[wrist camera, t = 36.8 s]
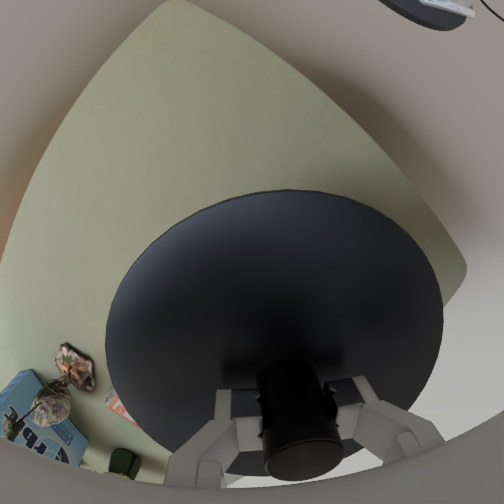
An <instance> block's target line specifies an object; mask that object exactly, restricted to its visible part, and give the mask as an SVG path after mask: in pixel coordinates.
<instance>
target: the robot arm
mask: <svg viewBox="0 0 504 504" xmlns="http://www.w3.org/2000/svg"><path fill="white" fill-rule="evenodd" d="M418 1H419V2H421V3H422V4H424V5H427V6H431V7H435V8H439V9H442V10H446V11H449V12H453V13H456V14H459V15H462V16H465V17H468V18H473V17H474V16H475V9H474V5H473V3H474V2H475V1H476V0H418ZM480 1H481V2H482V3H483V4H484V5H485V6H486V7H487V8H488V9H489V10H490V11H491V12H492V13H493V14H494V15H496V16H497V17H498V18H499V19H501V20H502V21H503V22H504V19H503V18H501V17H500V16H499V15H498V14H496V13H495V12H494V11H493V10H492V9H490V8H489V7H488V6H487V4H486V3H485V2H484V1H483V0H480ZM323 391H324V394H325V398H326V400H327V403H328V406H329V408H330V411H331V413H332V416H333V419H334V421H335V424H336V427H337V429H338V432H339V435H340V437H341V440H344V439H349V438H353V439H354V440H355V441H356V442H358V443H359V444H360V445H362V446H363V447H364V448H366V449H367V450H369V451H370V452H371V453H373V454H374V455H375V456H377V457H378V458H380V459H381V460H382V461H384V462H383V464H382V466H379V467H375V468H372V469H368V470H364V471H361V472H357V473H353V474H349V475H344V476H339V477H334V478H330V479H324V480H318V481H312V482H306V483H298V484H291V485H281V486H271V487H257V488H256V487H255V488H226V484H225V479H224V475H223V474H224V473H225V471H226V470H227V469H228V467H229V466H230V465H231V463H232V462H233V461H234V459H235V458H236V457H237V455H238V454H239V452H243V451H257V450H263V445H262V435H261V432H262V431H263V423H262V409H261V404H260V390H259V388H254V389H232V390H231V389H217V392H216V403H215V415H214V420H209V421H208V422H207V423H206V424H205V425H204V426H203V427H202V428H201V429H200V430H199V431H198V432H197V433H196V434H194V435H193V436H192V437H191V438H190V439H189V440H188V441H187V442H186V443H185V444H183V445H182V446H181V447H180V448H179V449H178V450H177V451H175V452H174V453H173V454H172V455H171V456H170V457H169V460H168V464H167V469H166V474H165V479H164V484H155V483H148V482H142V481H136V480H130V479H125V478H120V477H115V476H111V475H107V474H102V473H98V472H94V471H91V470H87V469H83V468H80V467H77V466H73V465H70V464H67V463H64V462H61V461H58V460H55V459H52V458H50V457H47V456H44V455H42V454H39V453H37V452H34V451H32V450H29V449H27V448H25V447H22V446H20V445H18V444H16V443H14V442H12V441H10V440H8V439H6V438H4V437H2V436H0V504H504V411H502V412H501V413H499V414H497V415H496V416H494V417H492V418H491V419H489V420H487V421H485V422H484V423H482V424H480V425H478V426H476V427H474V428H472V429H471V430H469V431H467V432H465V433H463V434H461V435H459V436H457V437H455V438H452V439H451V440H448V441H446V442H445V440H444V439H443V437H442V436H441V434H440V433H439V432H438V430H437V429H436V427H435V426H434V425H433V423H432V422H431V421H428V420H426V419H424V418H421V417H419V416H416V415H414V414H412V413H410V412H408V411H406V410H404V409H401V408H399V407H397V406H395V405H393V404H391V403H388V402H386V401H384V400H381V401H380V400H379V399H378V397H377V395H376V394H375V392H374V391H373V389H372V387H371V386H370V384H369V382H368V381H367V379H366V378H365V376H363V375H360V376H355V377H350V378H346V379H340V380H334V381H327V382H325V383H324V386H323Z"/></svg>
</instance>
